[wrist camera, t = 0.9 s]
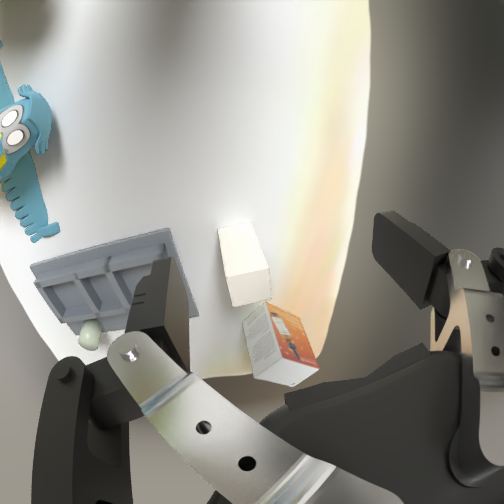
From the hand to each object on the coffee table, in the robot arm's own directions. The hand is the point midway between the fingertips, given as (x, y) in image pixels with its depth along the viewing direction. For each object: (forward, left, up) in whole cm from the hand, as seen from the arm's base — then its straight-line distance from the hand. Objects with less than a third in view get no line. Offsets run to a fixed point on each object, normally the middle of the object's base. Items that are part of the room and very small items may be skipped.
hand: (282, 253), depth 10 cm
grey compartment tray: (+16, -19, -20) cm, 32 cm away
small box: (+28, +2, -20) cm, 35 cm away
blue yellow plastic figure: (-9, -24, -21) cm, 34 cm away
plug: (+12, -1, -20) cm, 23 cm away
